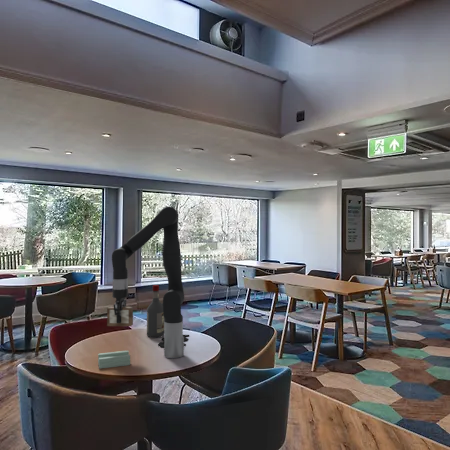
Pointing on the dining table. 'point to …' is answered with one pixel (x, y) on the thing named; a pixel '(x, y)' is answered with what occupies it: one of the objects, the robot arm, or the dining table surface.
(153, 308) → the liquor
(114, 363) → the picture ledge
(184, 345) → the figurine
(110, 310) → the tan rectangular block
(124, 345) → the dining table surface
